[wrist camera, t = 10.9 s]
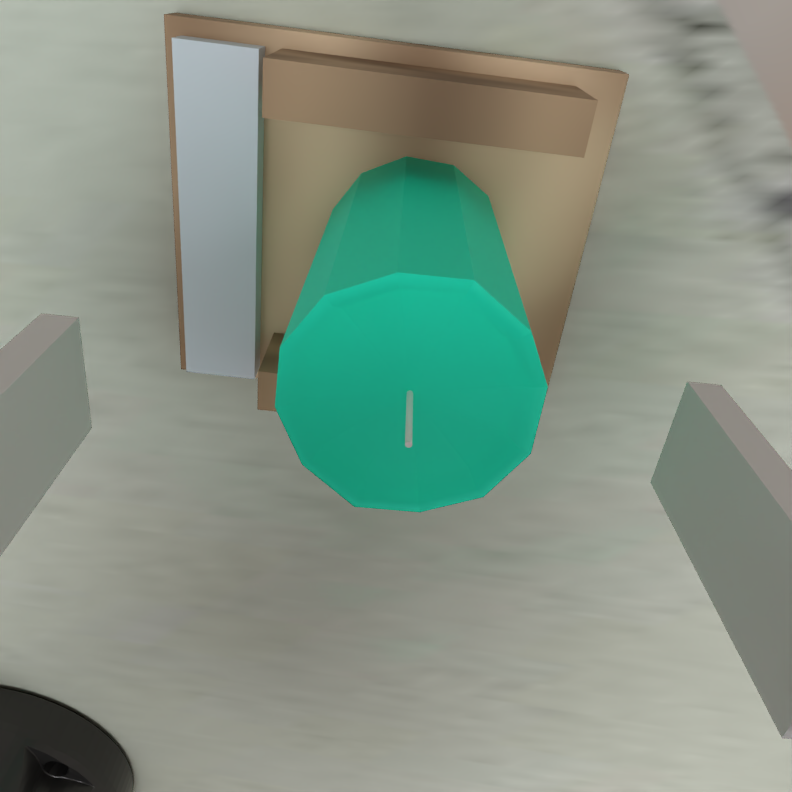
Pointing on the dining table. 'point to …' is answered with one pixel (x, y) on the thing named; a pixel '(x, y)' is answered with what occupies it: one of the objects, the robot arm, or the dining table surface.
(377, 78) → the jig
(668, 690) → the dining table surface
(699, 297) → the dining table surface
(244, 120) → the wing slat
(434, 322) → the candle
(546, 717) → the dining table surface
